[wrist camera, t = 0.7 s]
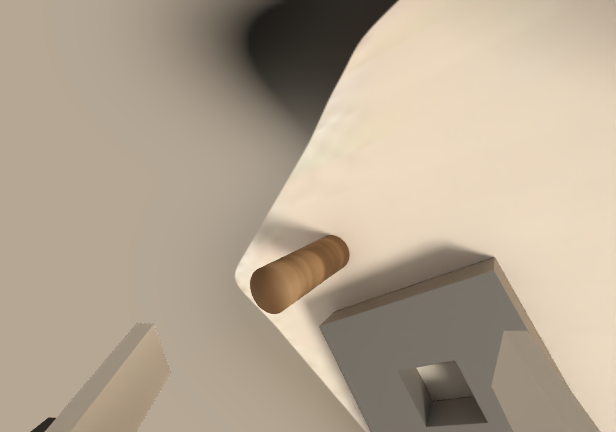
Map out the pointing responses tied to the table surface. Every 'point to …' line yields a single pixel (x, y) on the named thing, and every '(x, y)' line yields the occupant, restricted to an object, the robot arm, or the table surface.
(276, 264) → the peg
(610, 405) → the table surface
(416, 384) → the socket
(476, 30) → the table surface
